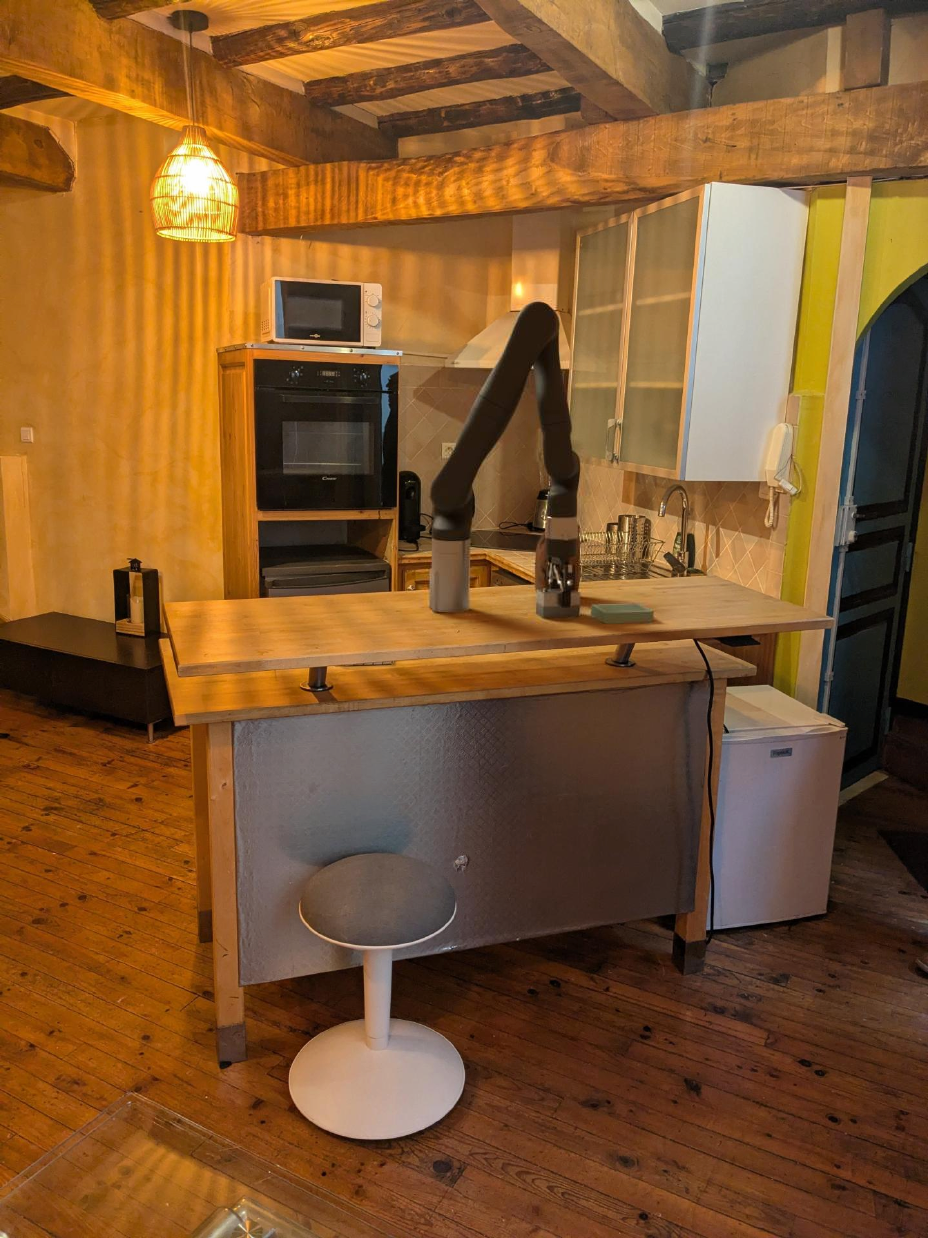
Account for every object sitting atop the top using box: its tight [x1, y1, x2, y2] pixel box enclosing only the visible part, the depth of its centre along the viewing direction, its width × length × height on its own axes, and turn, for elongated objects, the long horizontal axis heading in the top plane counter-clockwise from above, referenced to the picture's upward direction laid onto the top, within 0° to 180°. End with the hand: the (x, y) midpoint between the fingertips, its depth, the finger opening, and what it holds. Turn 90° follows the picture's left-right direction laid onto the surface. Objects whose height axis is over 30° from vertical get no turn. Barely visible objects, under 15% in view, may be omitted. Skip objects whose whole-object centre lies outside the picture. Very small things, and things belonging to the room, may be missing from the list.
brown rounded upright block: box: [534, 522, 581, 595], centre depth 244 cm, size 11×8×20 cm
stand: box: [590, 602, 655, 624], centre depth 223 cm, size 12×9×2 cm
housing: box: [535, 588, 581, 620], centre depth 225 cm, size 9×6×7 cm, turn 104°
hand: (559, 603), depth 225 cm, fingers open, 8 cm apart
